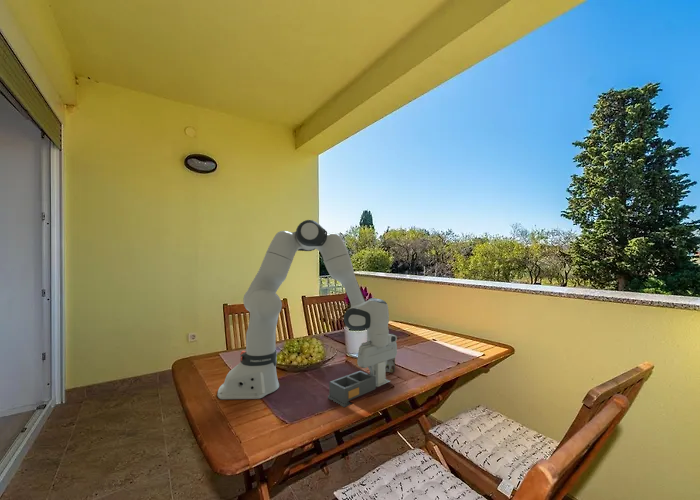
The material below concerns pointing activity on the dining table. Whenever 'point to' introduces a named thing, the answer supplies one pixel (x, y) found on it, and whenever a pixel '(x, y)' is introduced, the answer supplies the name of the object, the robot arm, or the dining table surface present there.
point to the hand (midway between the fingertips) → (377, 373)
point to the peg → (380, 372)
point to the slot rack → (352, 387)
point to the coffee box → (390, 363)
